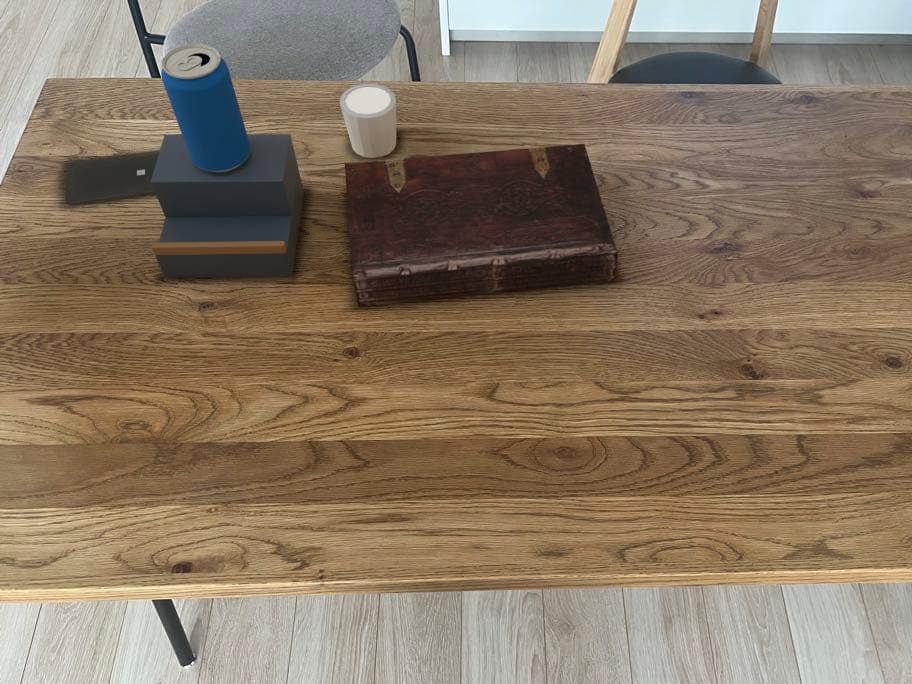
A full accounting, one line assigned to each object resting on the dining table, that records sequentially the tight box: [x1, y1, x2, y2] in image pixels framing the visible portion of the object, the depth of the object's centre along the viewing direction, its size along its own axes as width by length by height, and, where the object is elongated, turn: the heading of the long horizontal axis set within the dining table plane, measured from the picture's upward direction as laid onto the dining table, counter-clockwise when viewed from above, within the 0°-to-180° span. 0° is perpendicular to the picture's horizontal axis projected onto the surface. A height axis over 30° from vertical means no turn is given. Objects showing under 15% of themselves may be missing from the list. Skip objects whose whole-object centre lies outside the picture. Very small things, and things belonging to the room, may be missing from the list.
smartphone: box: [64, 150, 160, 206], centre depth 106 cm, size 8×15×1 cm, turn 105°
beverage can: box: [161, 43, 251, 172], centre depth 91 cm, size 6×6×12 cm
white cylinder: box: [339, 83, 397, 159], centre depth 109 cm, size 7×7×7 cm
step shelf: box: [151, 133, 305, 279], centre depth 98 cm, size 14×14×9 cm
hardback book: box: [344, 143, 619, 308], centre depth 101 cm, size 29×19×5 cm, turn 100°
